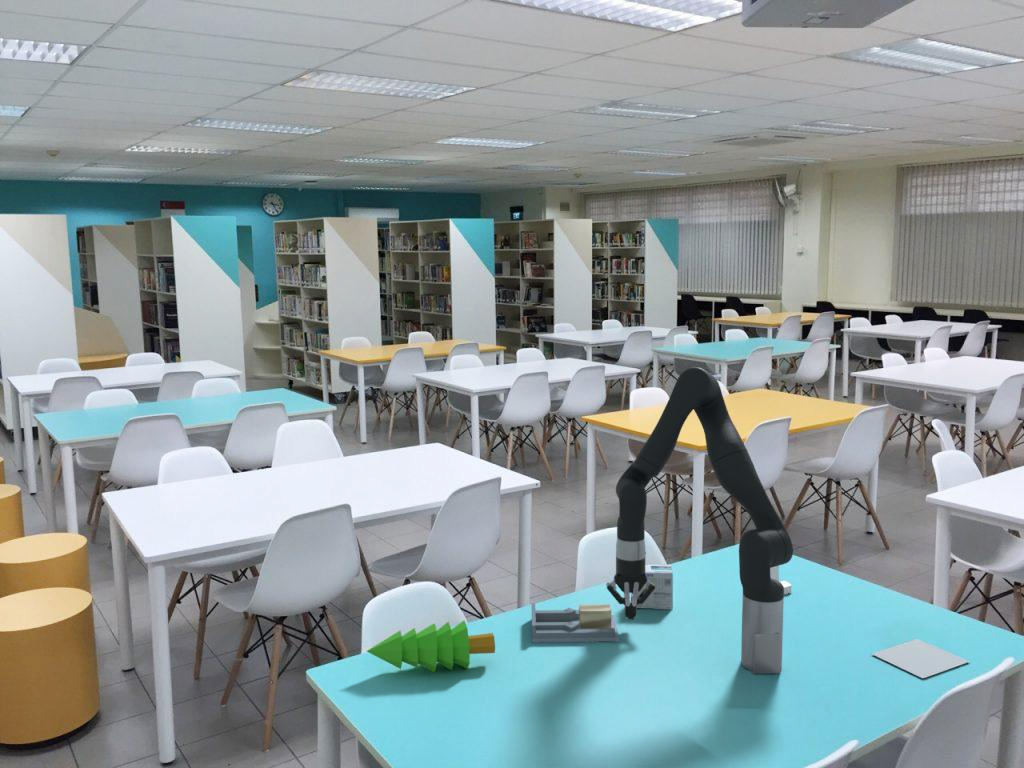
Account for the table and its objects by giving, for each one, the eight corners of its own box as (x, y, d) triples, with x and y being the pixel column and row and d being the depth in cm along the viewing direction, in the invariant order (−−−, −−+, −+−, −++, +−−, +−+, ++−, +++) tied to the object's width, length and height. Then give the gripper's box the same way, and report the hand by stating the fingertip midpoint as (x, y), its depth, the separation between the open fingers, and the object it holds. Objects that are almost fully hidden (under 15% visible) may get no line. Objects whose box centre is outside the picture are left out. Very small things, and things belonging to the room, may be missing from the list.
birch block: (611, 629, 216) (611, 610, 215) (580, 629, 216) (580, 611, 215) (609, 622, 220) (609, 604, 219) (579, 622, 220) (579, 604, 219)
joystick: (758, 598, 237) (760, 530, 234) (745, 588, 244) (746, 522, 241) (793, 593, 239) (795, 526, 236) (779, 584, 246) (781, 518, 244)
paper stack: (839, 641, 209) (839, 638, 209) (906, 620, 221) (906, 618, 221) (922, 681, 189) (922, 678, 189) (991, 656, 200) (991, 653, 200)
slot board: (619, 641, 211) (619, 624, 210) (532, 642, 211) (532, 625, 210) (613, 618, 224) (613, 602, 224) (531, 619, 225) (531, 603, 224)
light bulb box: (671, 600, 236) (671, 564, 234) (673, 610, 229) (673, 572, 228) (633, 599, 237) (633, 563, 236) (634, 609, 230) (634, 571, 229)
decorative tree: (495, 618, 196) (366, 626, 190) (498, 669, 193) (367, 679, 187) (487, 618, 207) (365, 625, 201) (490, 666, 204) (365, 675, 198)
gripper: (654, 549, 218) (653, 612, 221) (603, 549, 219) (603, 612, 221) (658, 559, 211) (658, 624, 213) (606, 559, 211) (606, 624, 213)
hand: (630, 618), depth 217 cm, fingers closed
